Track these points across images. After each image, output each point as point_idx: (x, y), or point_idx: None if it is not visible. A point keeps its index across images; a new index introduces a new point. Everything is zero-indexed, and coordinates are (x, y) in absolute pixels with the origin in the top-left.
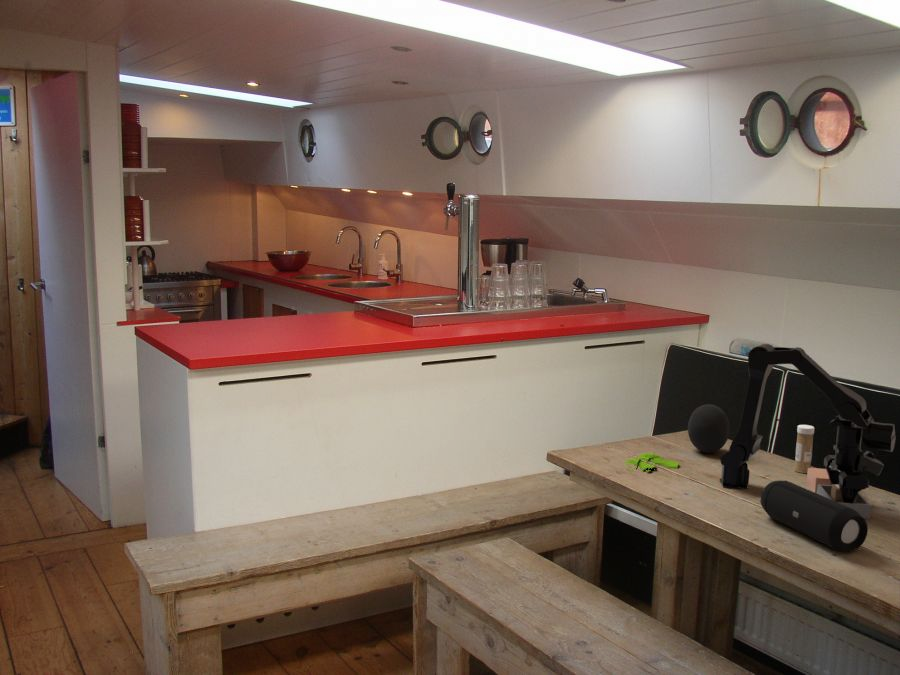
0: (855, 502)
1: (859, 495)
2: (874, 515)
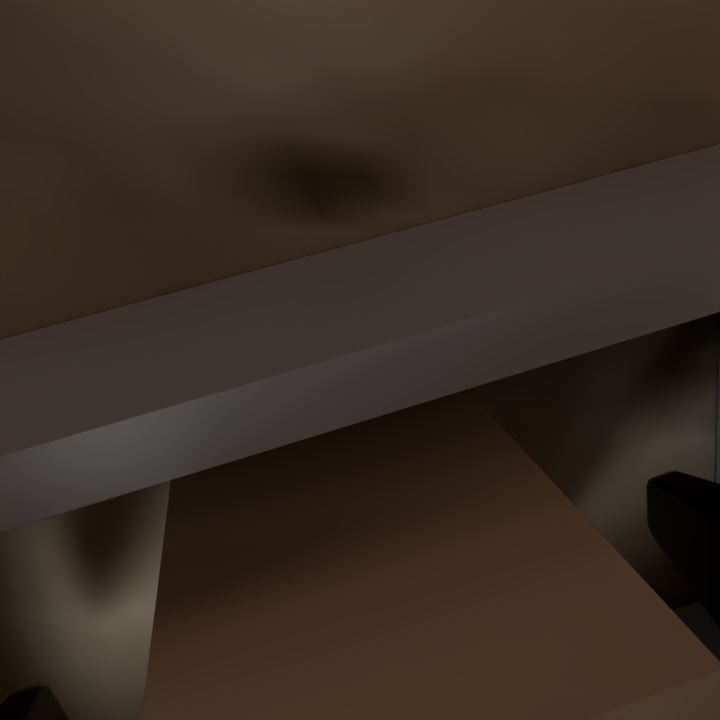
0: (517, 444)
1: (277, 439)
2: (563, 24)
